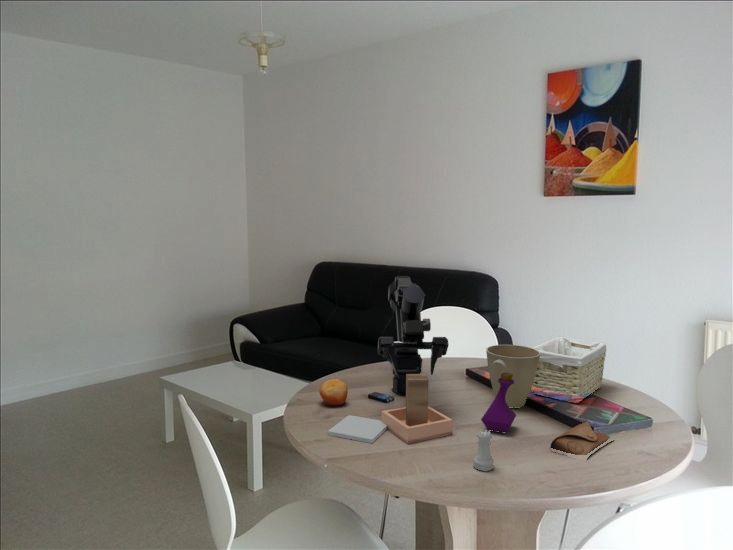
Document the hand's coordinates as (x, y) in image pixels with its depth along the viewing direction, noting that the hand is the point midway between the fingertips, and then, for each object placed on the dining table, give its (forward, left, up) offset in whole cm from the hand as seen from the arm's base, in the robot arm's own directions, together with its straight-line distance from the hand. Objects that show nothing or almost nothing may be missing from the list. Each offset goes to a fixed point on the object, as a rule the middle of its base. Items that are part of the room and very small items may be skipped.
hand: (414, 374), depth 143 cm
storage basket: (-56, 0, -13) cm, 58 cm away
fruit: (+14, -22, -13) cm, 29 cm away
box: (+3, +5, -13) cm, 14 cm away
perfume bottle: (-16, +14, -13) cm, 25 cm away
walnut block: (+3, +5, -12) cm, 13 cm away
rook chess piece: (+1, +29, -13) cm, 32 cm away
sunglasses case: (-28, +31, -13) cm, 44 cm away
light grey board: (+16, -1, -13) cm, 20 cm away
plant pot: (-32, +2, -13) cm, 35 cm away
